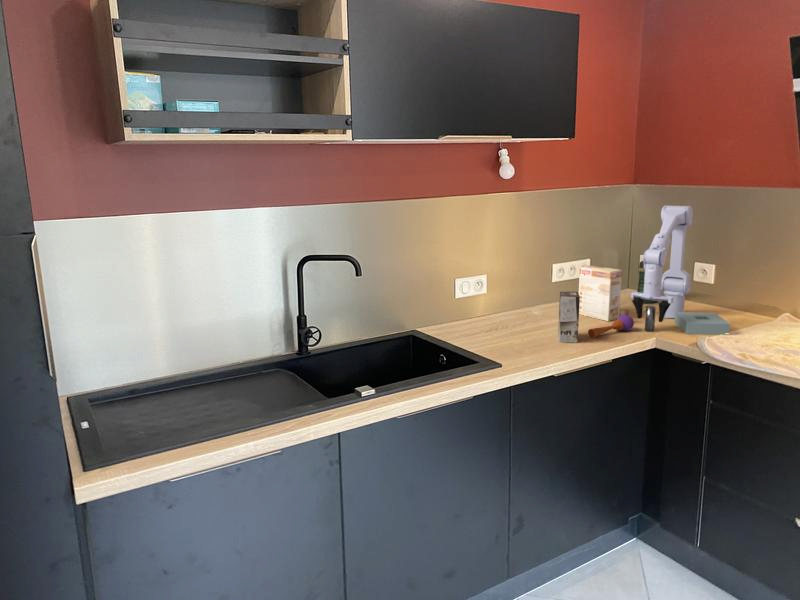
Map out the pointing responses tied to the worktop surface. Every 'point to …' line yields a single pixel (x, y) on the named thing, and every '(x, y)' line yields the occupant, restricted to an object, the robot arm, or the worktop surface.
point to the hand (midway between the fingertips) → (650, 319)
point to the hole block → (702, 323)
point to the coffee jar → (641, 282)
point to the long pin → (650, 318)
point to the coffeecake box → (600, 292)
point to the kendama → (614, 326)
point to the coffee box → (568, 316)
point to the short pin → (623, 312)
